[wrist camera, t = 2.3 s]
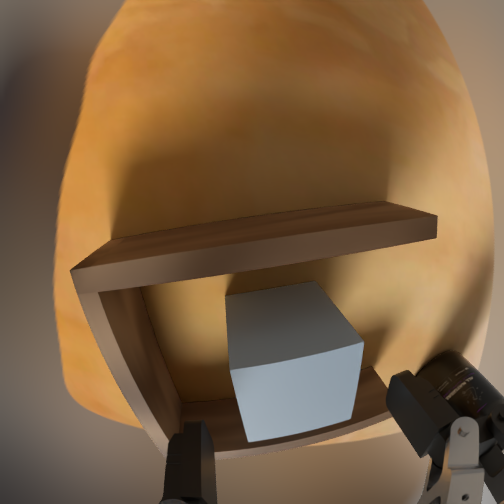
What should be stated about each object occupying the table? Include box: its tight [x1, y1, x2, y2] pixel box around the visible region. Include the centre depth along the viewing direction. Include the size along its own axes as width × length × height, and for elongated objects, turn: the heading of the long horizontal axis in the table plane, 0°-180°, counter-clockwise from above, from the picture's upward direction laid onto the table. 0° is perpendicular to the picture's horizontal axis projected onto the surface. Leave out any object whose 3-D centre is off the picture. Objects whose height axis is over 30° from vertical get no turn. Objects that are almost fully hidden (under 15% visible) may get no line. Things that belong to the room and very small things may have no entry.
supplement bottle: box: [416, 350, 504, 453], centre depth 14 cm, size 7×7×12 cm
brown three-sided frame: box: [70, 201, 438, 460], centre depth 13 cm, size 13×15×4 cm
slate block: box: [225, 281, 364, 442], centre depth 13 cm, size 5×5×6 cm
